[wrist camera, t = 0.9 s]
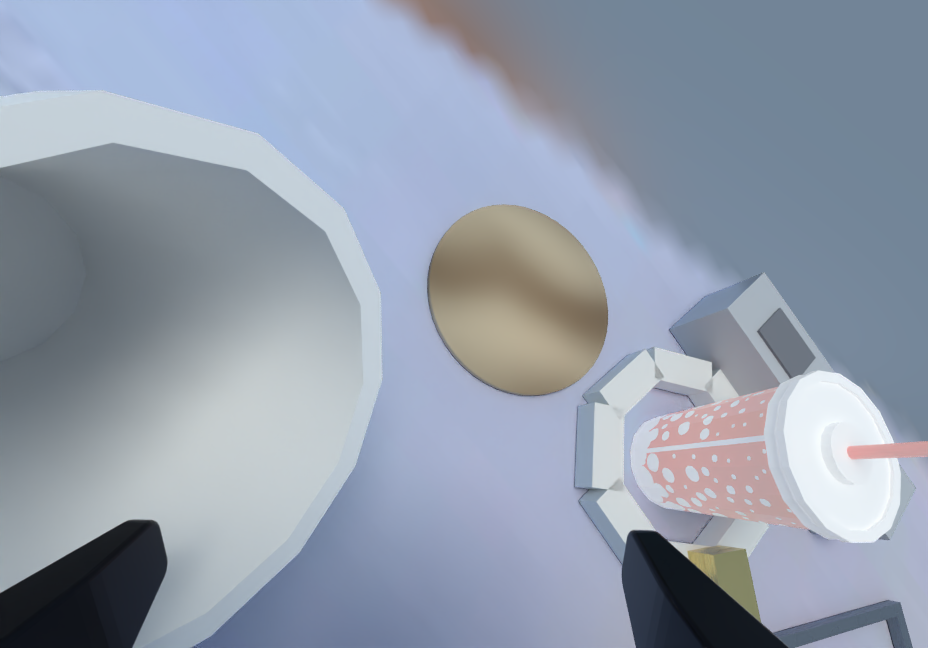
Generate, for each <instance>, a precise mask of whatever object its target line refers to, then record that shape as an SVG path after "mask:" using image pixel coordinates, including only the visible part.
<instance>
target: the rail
mask: <svg viewBox="0 0 928 648" xmlns="http://www.w3.org/2000/svg"><path fill="white" fill-rule="evenodd" d="M886 619H887V622H888V626H889V630H890V633H891V637H892V641H893V645H894V648H913V647H912V644H911V640H910V636H909V633H908V629H907V625H906V622H905V618H904V614H903V611H902V607H901V604H900V602H895V601H890V600H888V601H884V602H881V603H877V604H874V605H870V606H867V607H863V608H860V609H856V610H853V611H849V612H846V613H842V614H839V615H835V616H832V617H828V618H825V619H821V620H818V621H814V622H811V623H807V624H804V625H800V626H797V627H793V628H790V629H786V630H783V631H779V632H776V633H773V634H774V635H775V636H777V637H778V638H779V639H780V640H781V641H782V642H783V643H785V644H786V645H787V646H788V647H789V648H795V647H799V646H802V645H805V644H808V643H811V642H815V641H818V640H821V639H824V638H828V637H831V636H834V635H837V634H841V633H844V632H847V631H850V630H854V629H857V628H860V627H863V626H867V625H870V624H873V623H876V622H880V621H883V620H886Z"/></svg>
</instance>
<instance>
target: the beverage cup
mask: <svg viewBox="0 0 928 648" xmlns="http://www.w3.org/2000/svg"><path fill="white" fill-rule="evenodd" d="M630 455H631V469H632V472H633V474H634V477H635V479H636V482H637V485H638V487H639V488H640V489H641V491H642V492H643V493H644V494H645V495H646V497H647V498H648V499H649V500H650V501H652V502H653V503H655V504H657V505H659V506H661V507H663V508H667V509H674V510H681V511H688V512H694V513H701V514H708V515H714V516H721V517H728V518H735V519H741V520H748V521H755V522H761V523H768V524H775V525H782V526H788V527H795V528H802V529H808V530H812V531H814V532H816V533H817V534H819V535H821V536H822V537H824V538H826V539H838V540H840V541H842V542H849V543H869V542H875V541H876V540H877V539H878V538H880V537H881V536H882V535H883V534H885V533H886V532H887V531H888V530H889V529H891V527H892V524H893V521H894V519H895V516H896V513H897V511H898V508H899V506H900V489H901V472H900V467H899V463H898V458H905V457H928V441H924V442H908V443H894V441H893V439H892V437H891V435H890V433H889V430H888V428H887V426H886V424H885V422H884V420H883V418H882V416H881V413H880V411H879V410H878V409H877V408H876V406H875V405H874V404H873V403H872V401H871V400H870V399H869V398H868V396H867V395H866V394H865V393H864V391H863V390H862V389H861V388H860V387H858V386H857V385H855V384H854V383H852V382H851V381H850V380H848V379H847V378H845V377H844V376H842V375H841V374H838V373H832V372H826V371H819V370H818V371H812V372H810V373H808V374H805V375H798V376H795V377H793V378H791V379H789V380H787V381H785V382H783V383H781V384H780V385H779V387H775V388H771V389H767V390H763V391H759V392H755V393H751V394H747V395H743V396H739V397H735V398H731V399H727V400H723V401H719V402H715V403H711V404H707V405H703V406H699V407H695V408H691V409H687V410H683V411H679V412H675V413H671V414H667V415H663V416H659V417H655V418H653V419H651V420H649V421H647V422H644V423H643V424H642V425H641V427H640V428H639V429H638V431H637V432H636V433H635V434H634V438H633V442H632V446H631V450H630Z"/></svg>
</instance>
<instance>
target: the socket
mask: <svg viewBox="0 0 928 648" xmlns="http://www.w3.org/2000/svg"><path fill="white" fill-rule="evenodd" d="M669 330H670V331H671V333H672V334H673V336H674V337H675V338H676V340H677V341H678V343H679V344H680V346H681V347H682V349H683V350H684V351H685V353H686V354H687V356H686V355H683V354H679V353H675V352H672V351H668V350H664V349H660V348H657V347H653V348H650V349H647V350H646V349H644V350H641V351H638V352H635V353H632V354H629V355H627V356H626V357H625V358H624V359H622V360H621V361H620V362H619V363H618V364H617V365H616V366H615V367H614V368H612V369H611V370H610V371H609V372H608V373H607V374H606V375H605V376H604V377H602V378H601V379H600V380H599V381H598V382H597V383H596V384H595V385H594V386H592V387H591V388H590V389H589V390H588V391H587V392H586V393H585V394H583V397H584V398H585V400H586V401H587V402H588V404H585V405H581V406H578V416H577V440H576V464H575V487H578V488H585V489H589V490H588V491H587V492H586V493H585V494H584V495H583V497H582V498H581V499H580V500H579V502H580V504H581V505H582V507H583V508H584V510H585V511H586V512H587V514H588V515H589V517H590V518H591V520H592V521H593V523H594V524H595V525H596V527H597V528H598V530H599V531H600V533H601V534H602V536H603V537H604V539H605V540H606V541H607V543H608V544H609V546H610V547H611V549H612V550H613V552H614V553H615V554H616V556H617V557H618V559H619V560H620V562H621V563H622V565H623V559H624V552H625V546H626V540H627V536H628V533H629V532H630V531H632V530H653V531H656V530H655V529H654V527H653V526H652V524H651V523H650V521H649V520H648V519H647V517H646V516H645V514H644V513H643V511H642V510H641V508H640V507H639V506H638V504H637V503H636V501H635V500H634V498H633V497H632V495H631V494H630V493H629V491H628V490H627V488H626V487H625V485H624V484H623V483H624V416H625V415H626V414H627V413H628V412H629V411H630V410H631V409H632V408H633V407H634V406H635V405H636V404H637V403H638V402H639V401H640V400H641V399H642V398H643V397H644V396H645V395H646V394H647V393H648V392H649V391H650V390H651V389H652V388H658V389H662V390H666V391H670V392H674V393H679V394H683V395H687V396H688V397H689V398H690V399H691V401H692V402H693V404H694V405H695V407H699V406H703V405H707V404H711V403H715V402H719V401H723V400H727V399H731V398H735V397H739V396H743V395H747V394H751V393H755V392H759V391H763V390H767V389H771V388H775V387H779V385H780V384H781V383H783V382H785V381H787V380H789V379H791V378H793V377H795V376H798V375H805V374H808V373H810V372H812V371H818V370H819V371H826V372H832V373H835V372H834V371H833V369H832V368H831V366H830V365H829V364H828V362H827V361H826V360H825V358H824V356H823V355H822V354H821V352H820V351H819V349H818V348H817V346H816V345H815V344H814V342H813V341H812V340H811V338H810V337H809V335H808V334H807V332H806V331H805V329H804V328H803V327H802V325H801V324H800V322H799V321H798V320H797V318H796V317H795V315H794V314H793V312H792V311H791V310H790V308H789V307H788V305H787V304H786V303H785V301H784V300H783V298H782V297H781V295H780V294H779V293H778V291H777V290H776V288H775V287H774V285H773V284H772V283H771V281H770V280H769V278H768V277H767V275H766V274H765V273H764V272H763V273H761V274H759V275H756V276H754V277H751V278H749V279H746V280H744V281H741V282H739V283H737V284H734V285H732V286H729V287H727V288H724V289H722V290H719V291H717V292H714V293H712V294H710V295H707V296H705V297H704V298H703V299H702V300H701V301H700V302H698V303H697V304H696V305H695V306H694V307H693V308H692V309H691V310H690V311H689V312H688V313H686V314H685V315H684V316H683V317H682V318H681V319H680V320H679V321H678V322H677V323H676V324H674V325H673V326H672V327H671V328H670V329H669ZM899 467H900V472H901V489H900V506H899V508H898V511H897V513H896V516H895V519H894V521H893V524H892V527H891V529H889V530H888V531H887V532H886V533H885V534H883V535H882V536H881V537H880V538H878V539H883V540H890V539H891V537H892V535H893V533H894V531H895V529H896V527H897V525H898V523H899V521H900V519H901V517H902V515H903V513H904V511H905V509H906V507H907V505H908V503H909V501H910V499H911V497H912V495H913V493H914V491H915V489H916V487H915V486H914V484H913V483H912V481H911V480H910V479H909V477H908V476H907V474H906V473H905V472H904V470H903V469H902V467H901V466H900V464H899ZM768 527H769V526H768V524H767V523H761V522H755V521H748V520H741V519H735V518H728V517H721V516H713V518H712V519H711V520H710V522H709V523H708V524H707V526H706V527H705V528H704V529H703V531H702V532H701V533H700V535H699V536H698V537H697V539H696V540H695V541H694V543H693V544H690V543H682V542H674V541H668V542H670V543H671V544H672V545H673V546H674V547H675V548H676V549H678V550H679V551H680V552H681V553H682V554H683V555H684V556H686V557H687V558H688V552H687V551H690V550H695V549H701V548H706V547H712V546H717V545H721V546H728V547H736V548H743V549H746V553H747V557H749V556H750V554H751V553H752V551H753V550H754V548H755V547H756V545H757V544H758V542H759V541H760V539H761V538H762V536H763V535H764V533H765V532H766V530H767V529H768ZM810 532H811V533H816V532H814V531H812V530H810ZM688 559H689V558H688Z"/></svg>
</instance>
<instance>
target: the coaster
mask: <svg viewBox="0 0 928 648" xmlns="http://www.w3.org/2000/svg"><path fill="white" fill-rule="evenodd" d="M428 299H429V306H430V310H431V314H432V318H433V321H434V323H435V326H436V328H437V331H438V333H439V335H440V337H441V338H442V340H443V342H444V344H445V345H446V347H447V348H448V350H449V351H450V352H451V354H452V355H453V356H454V358H455V359H456V360H457V361H458V362H459V363H460V364H461V365H462V366H463V367H464V368H465V369H466V370H467V371H468V372H470V373H471V374H472V375H473V376H475V377H476V378H478V379H479V380H481V381H482V382H484V383H486V384H488V385H490V386H492V387H494V388H496V389H498V390H501V391H504V392H507V393H511V394H517V395H526V396H536V395H545V394H548V393H552V392H556V391H559V390H562V389H564V388H566V387H568V386H570V385H572V384H573V383H575V382H577V381H578V380H579V379H580V378H582V377H583V376H584V375H585V374H586V373H587V372H588V371H589V370H590V368H591V367H592V366H593V365H594V363H595V361H596V360H597V358H598V356H599V354H600V352H601V350H602V347H603V345H604V341H605V337H606V333H607V325H608V307H607V299H606V294H605V289H604V286H603V283H602V280H601V277H600V275H599V273H598V270H597V268H596V266H595V264H594V262H593V261H592V259H591V257H590V256H589V254H588V253H587V251H586V250H585V248H584V247H583V246H582V245H581V243H580V242H579V241H578V240H577V239H576V238H575V237H574V236H573V235H572V234H571V233H570V232H569V231H568V230H567V229H566V228H564V227H563V226H562V225H560V224H559V223H558V222H556V221H555V220H553V219H551V218H550V217H548V216H546V215H544V214H542V213H540V212H537V211H535V210H532V209H529V208H526V207H521V206H516V205H492V206H487V207H483V208H480V209H477V210H474V211H472V212H470V213H468V214H467V215H465V216H463V217H462V218H460V219H459V220H458V221H457V222H455V223H454V224H453V225H452V226H451V228H450V229H449V230H448V231H447V232H446V233H445V235H444V236H443V237H442V239H441V240H440V242H439V243H438V245H437V247H436V249H435V252H434V254H433V256H432V260H431V263H430V267H429V273H428Z"/></svg>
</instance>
